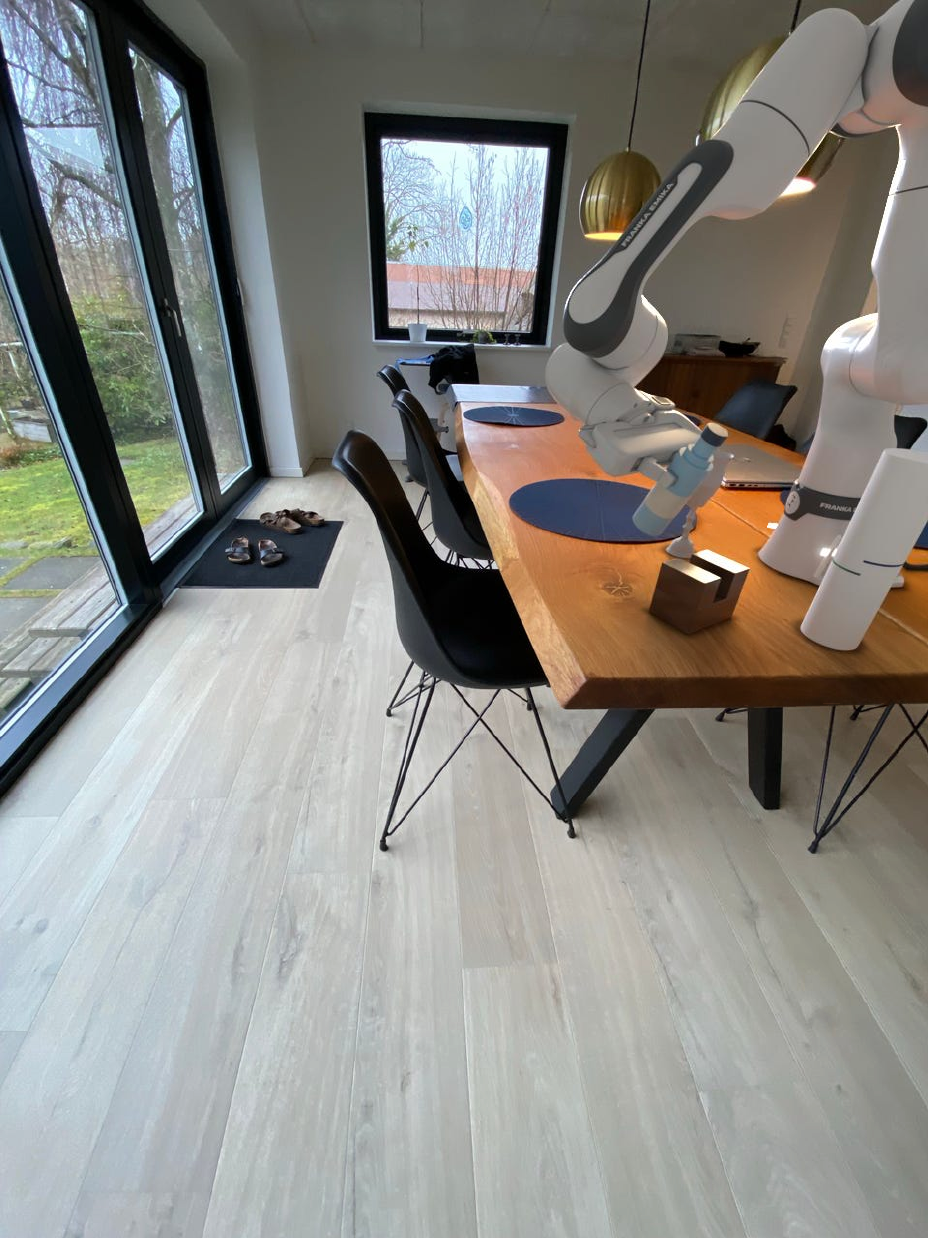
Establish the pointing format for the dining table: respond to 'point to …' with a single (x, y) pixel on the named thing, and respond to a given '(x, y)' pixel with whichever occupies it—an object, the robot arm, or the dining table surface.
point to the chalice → (700, 503)
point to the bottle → (680, 482)
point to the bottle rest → (697, 591)
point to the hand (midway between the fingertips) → (687, 480)
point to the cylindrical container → (871, 550)
